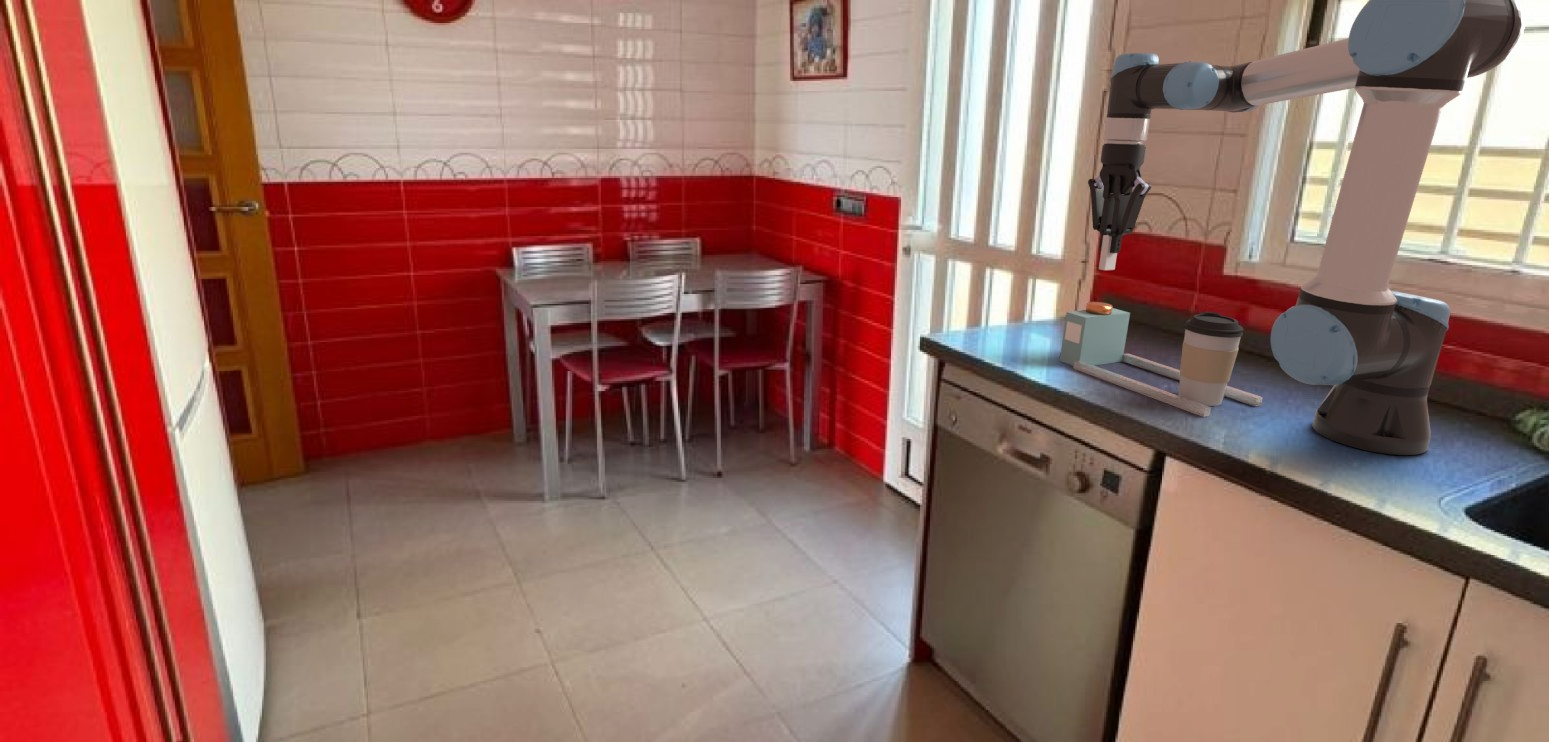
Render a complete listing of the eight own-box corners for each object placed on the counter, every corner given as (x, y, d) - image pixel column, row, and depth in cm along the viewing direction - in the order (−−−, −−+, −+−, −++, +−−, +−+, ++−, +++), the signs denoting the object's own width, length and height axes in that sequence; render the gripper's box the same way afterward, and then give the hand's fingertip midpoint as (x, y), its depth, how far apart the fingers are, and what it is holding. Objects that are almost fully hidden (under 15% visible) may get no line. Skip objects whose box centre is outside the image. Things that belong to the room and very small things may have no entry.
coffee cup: (1235, 410, 143) (1254, 324, 138) (1179, 405, 144) (1195, 320, 139) (1218, 393, 151) (1235, 312, 146) (1165, 389, 152) (1180, 308, 148)
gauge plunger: (1113, 338, 166) (1118, 306, 164) (1095, 340, 164) (1100, 308, 162) (1094, 332, 170) (1098, 301, 168) (1076, 334, 168) (1081, 303, 166)
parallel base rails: (1260, 405, 145) (1262, 397, 145) (1203, 417, 139) (1205, 408, 138) (1127, 360, 169) (1128, 353, 169) (1073, 368, 163) (1074, 361, 162)
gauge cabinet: (1122, 361, 169) (1130, 312, 166) (1077, 367, 163) (1085, 317, 160) (1102, 354, 173) (1110, 307, 170) (1058, 360, 168) (1065, 312, 165)
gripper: (1168, 144, 152) (1148, 273, 158) (1110, 141, 163) (1094, 263, 169) (1139, 143, 148) (1120, 276, 155) (1082, 141, 159) (1067, 265, 166)
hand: (1106, 269), depth 162 cm, fingers closed
